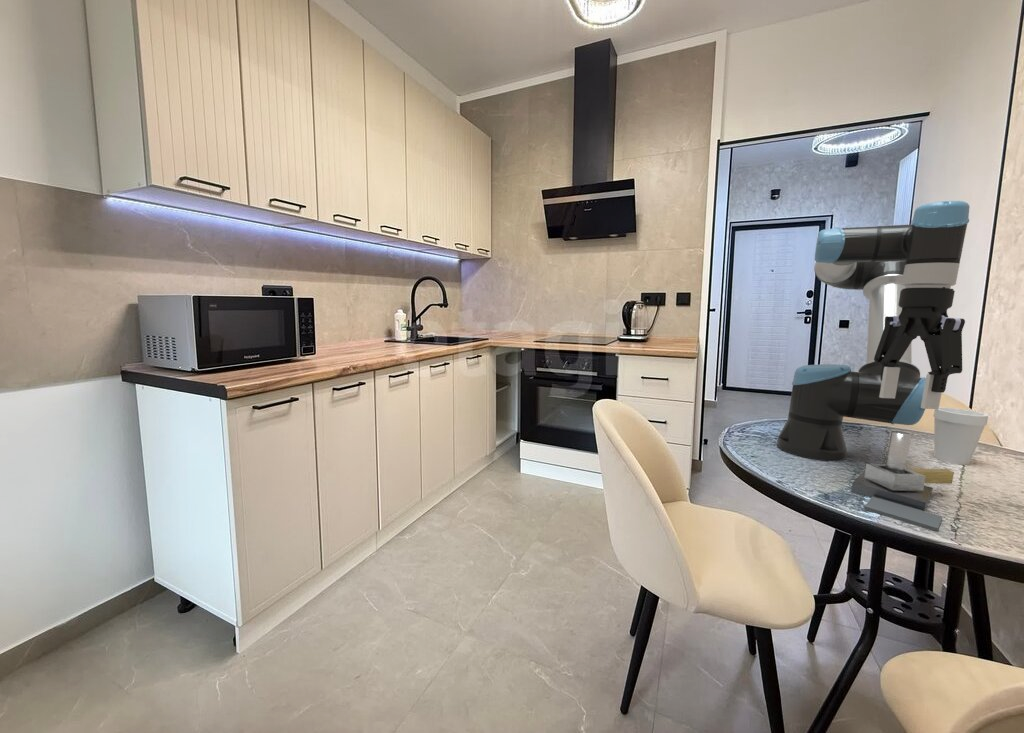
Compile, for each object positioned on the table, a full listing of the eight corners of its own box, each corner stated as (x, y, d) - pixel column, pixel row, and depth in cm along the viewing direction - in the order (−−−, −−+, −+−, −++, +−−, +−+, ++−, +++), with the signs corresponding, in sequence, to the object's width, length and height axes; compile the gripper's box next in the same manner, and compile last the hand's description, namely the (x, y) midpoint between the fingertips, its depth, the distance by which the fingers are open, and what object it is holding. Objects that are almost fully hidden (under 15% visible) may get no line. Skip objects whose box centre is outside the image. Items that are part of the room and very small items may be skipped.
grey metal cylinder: (881, 484, 88) (890, 432, 86) (884, 480, 90) (893, 430, 88) (900, 489, 86) (909, 436, 84) (903, 485, 88) (912, 433, 86)
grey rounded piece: (924, 451, 117) (933, 405, 115) (973, 460, 111) (983, 411, 110) (928, 460, 110) (937, 411, 108) (981, 470, 104) (991, 418, 102)
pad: (863, 509, 81) (864, 506, 81) (871, 499, 85) (872, 496, 85) (937, 531, 73) (938, 528, 73) (941, 519, 78) (942, 516, 78)
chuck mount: (851, 491, 89) (852, 482, 88) (863, 479, 96) (864, 470, 95) (923, 512, 80) (925, 502, 80) (931, 496, 87) (932, 487, 87)
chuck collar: (892, 490, 84) (895, 475, 84) (864, 477, 91) (866, 463, 90) (964, 491, 85) (967, 476, 85) (931, 478, 92) (933, 464, 91)
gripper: (1011, 286, 71) (984, 417, 75) (896, 289, 92) (879, 392, 96) (967, 284, 71) (942, 416, 75) (862, 288, 92) (846, 391, 96)
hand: (907, 402), depth 85 cm, fingers open, 8 cm apart
